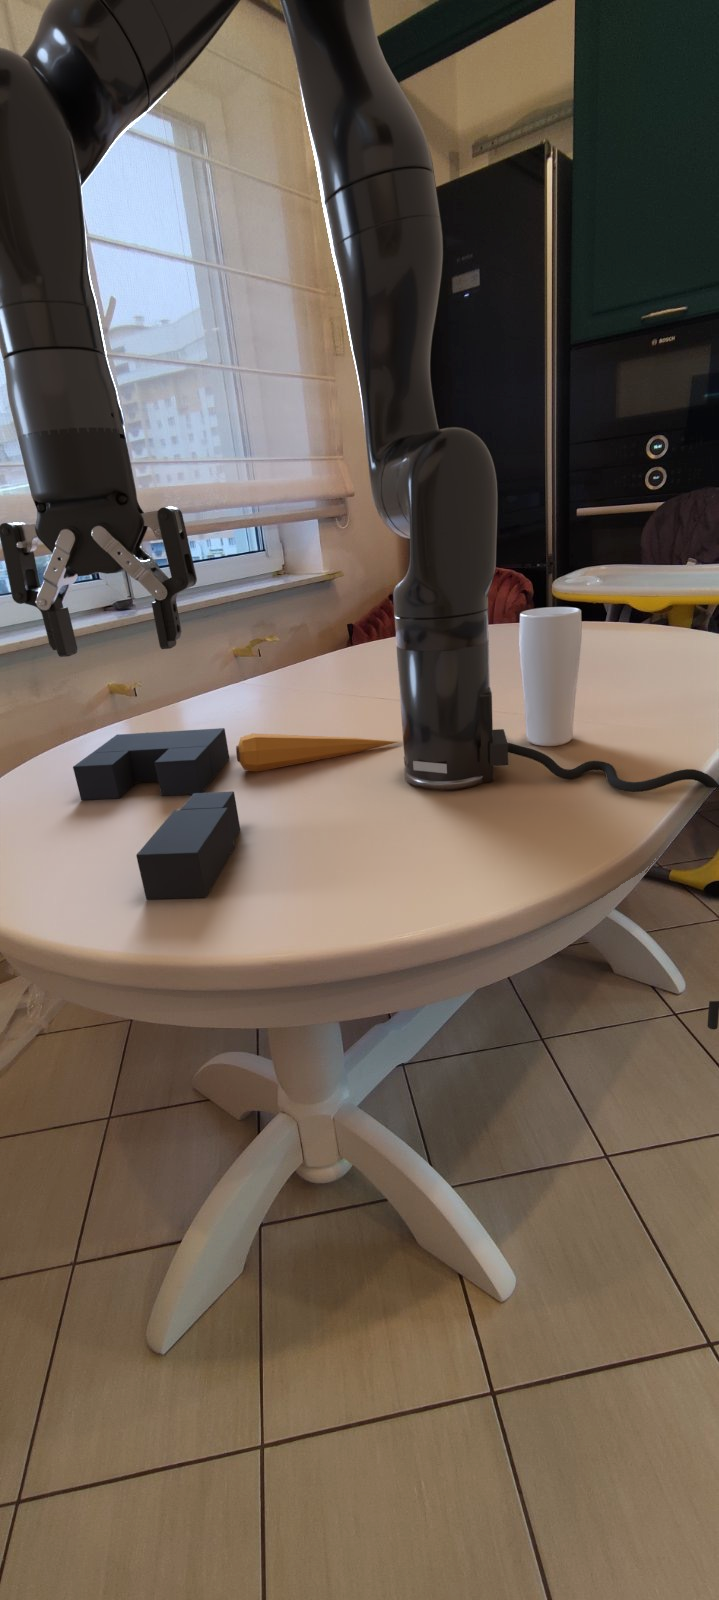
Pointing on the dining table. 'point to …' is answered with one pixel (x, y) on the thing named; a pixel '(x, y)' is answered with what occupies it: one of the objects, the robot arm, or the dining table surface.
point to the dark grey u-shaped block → (153, 763)
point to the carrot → (296, 749)
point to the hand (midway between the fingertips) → (118, 651)
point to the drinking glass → (550, 672)
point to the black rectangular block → (190, 847)
